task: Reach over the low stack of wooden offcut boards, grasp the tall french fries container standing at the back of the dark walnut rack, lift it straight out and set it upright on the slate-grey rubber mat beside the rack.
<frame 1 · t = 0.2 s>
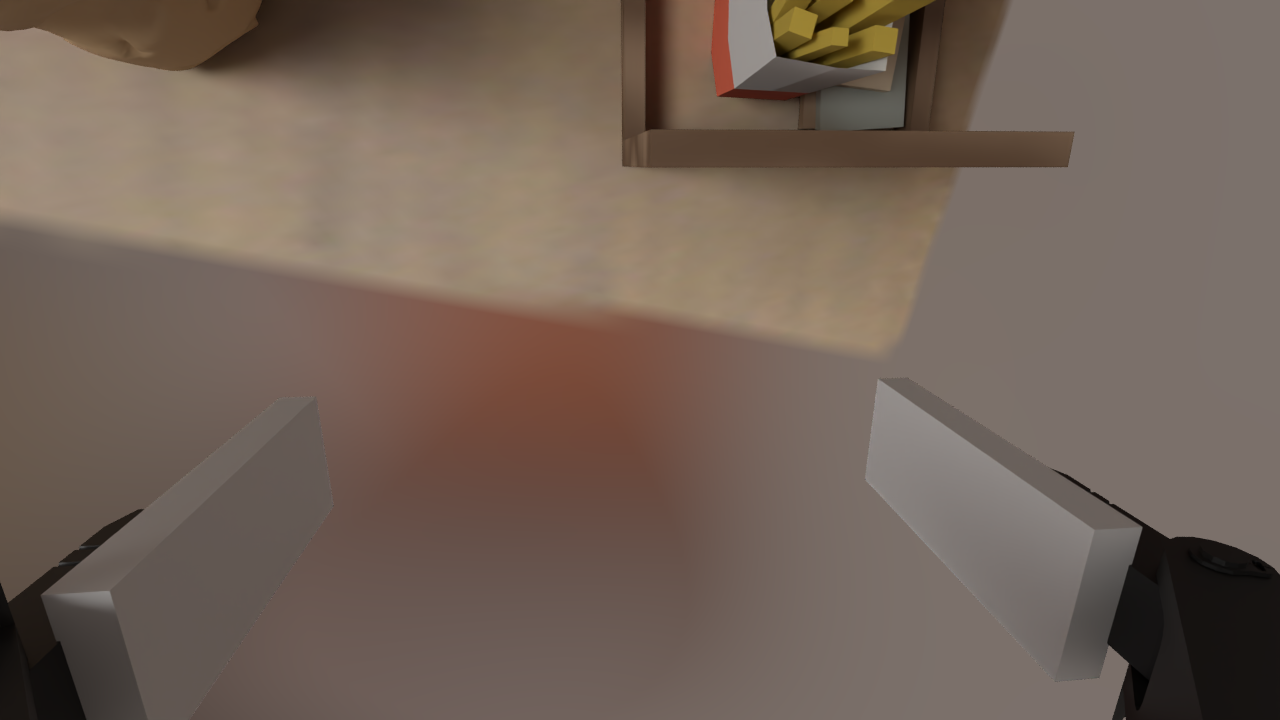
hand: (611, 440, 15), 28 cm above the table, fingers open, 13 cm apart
french fries container: (744, 5, 38), resting in offcut rack
offcut rack: (777, 5, 38), on the table
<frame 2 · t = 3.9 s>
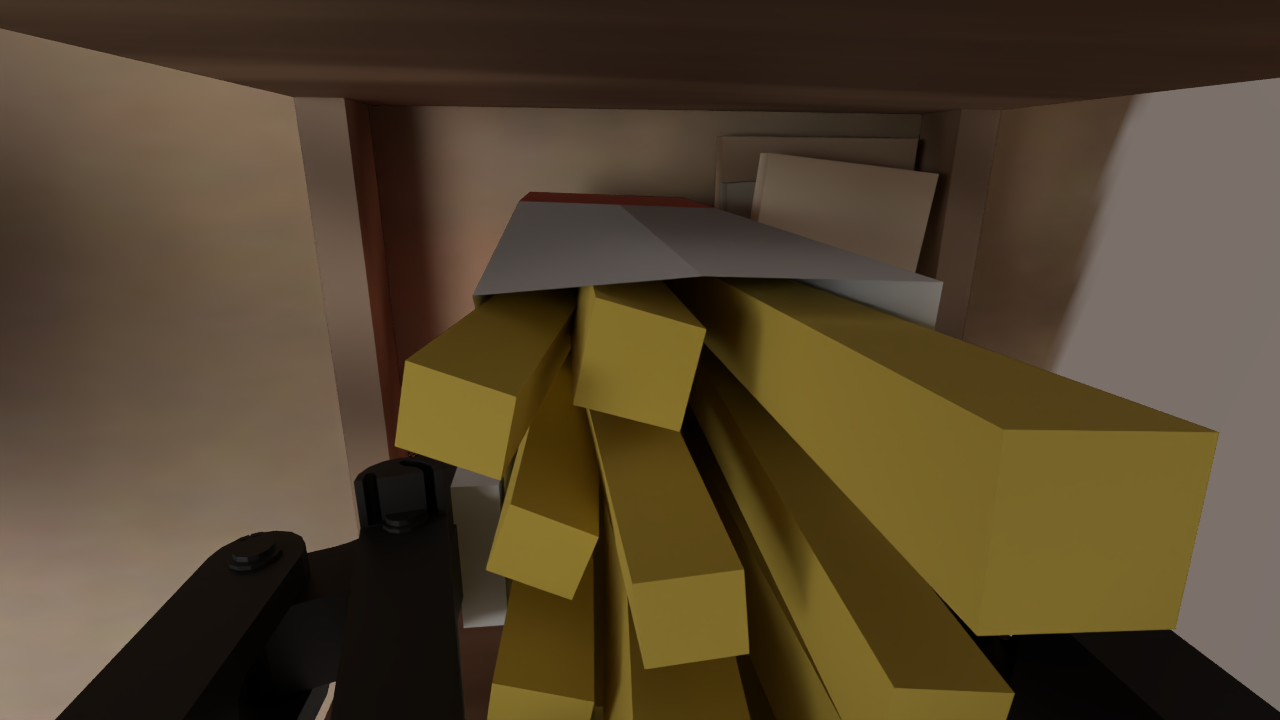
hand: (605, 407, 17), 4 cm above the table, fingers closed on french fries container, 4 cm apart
french fries container: (593, 358, 21), resting in offcut rack, touching gripper
offcut rack: (655, 358, 21), on the table
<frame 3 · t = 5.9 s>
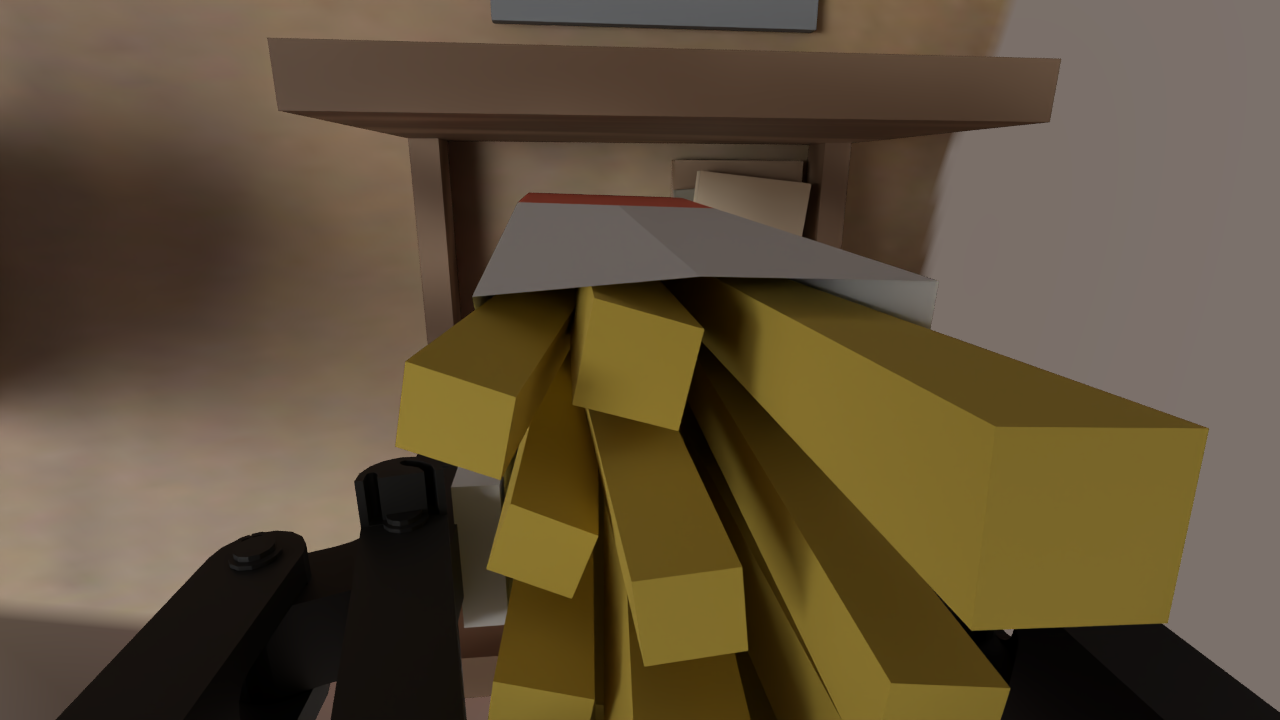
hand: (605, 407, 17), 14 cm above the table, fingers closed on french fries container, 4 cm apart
french fries container: (593, 358, 21), point 10 cm above the table, touching gripper
offcut rack: (633, 309, 31), on the table
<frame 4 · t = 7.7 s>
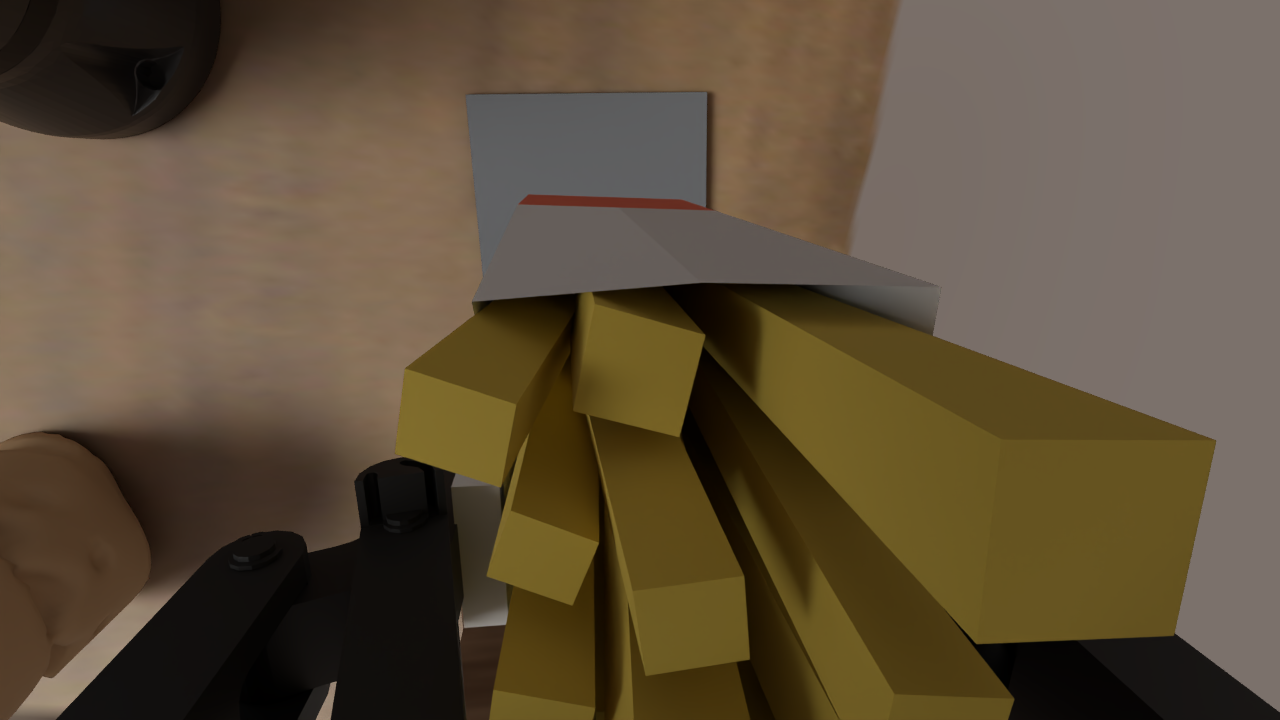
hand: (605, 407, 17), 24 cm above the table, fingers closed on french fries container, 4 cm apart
container: (75, 516, 41), on the table
slate mat: (593, 223, 39), on the table
french fries container: (592, 360, 21), point 20 cm above the table, touching gripper
offcut rack: (591, 508, 45), on the table
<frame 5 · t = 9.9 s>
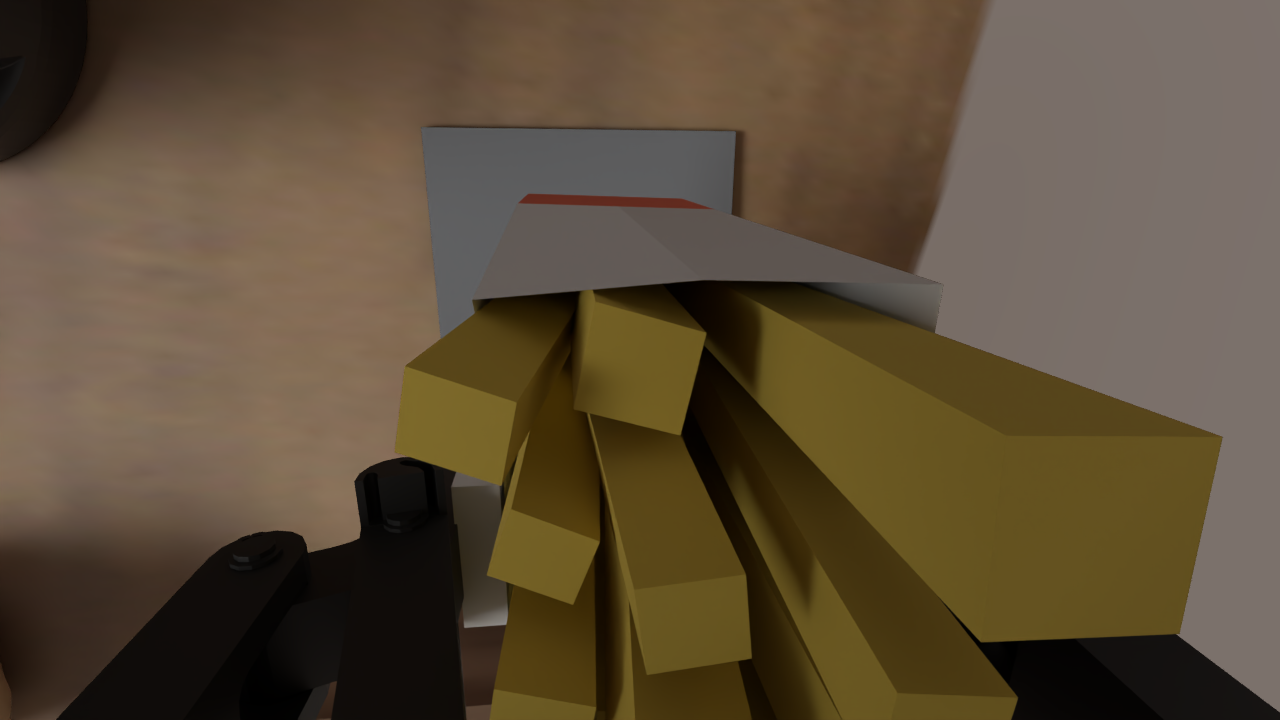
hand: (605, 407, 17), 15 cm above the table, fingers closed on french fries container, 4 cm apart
slate mat: (585, 292, 31), on the table
french fries container: (592, 359, 21), point 11 cm above the table, touching gripper
offcut rack: (575, 627, 37), on the table
when the fingers open (6 cm above the table, at t = 11.8 s): french fries container drops 1 cm, resting on slate mat.
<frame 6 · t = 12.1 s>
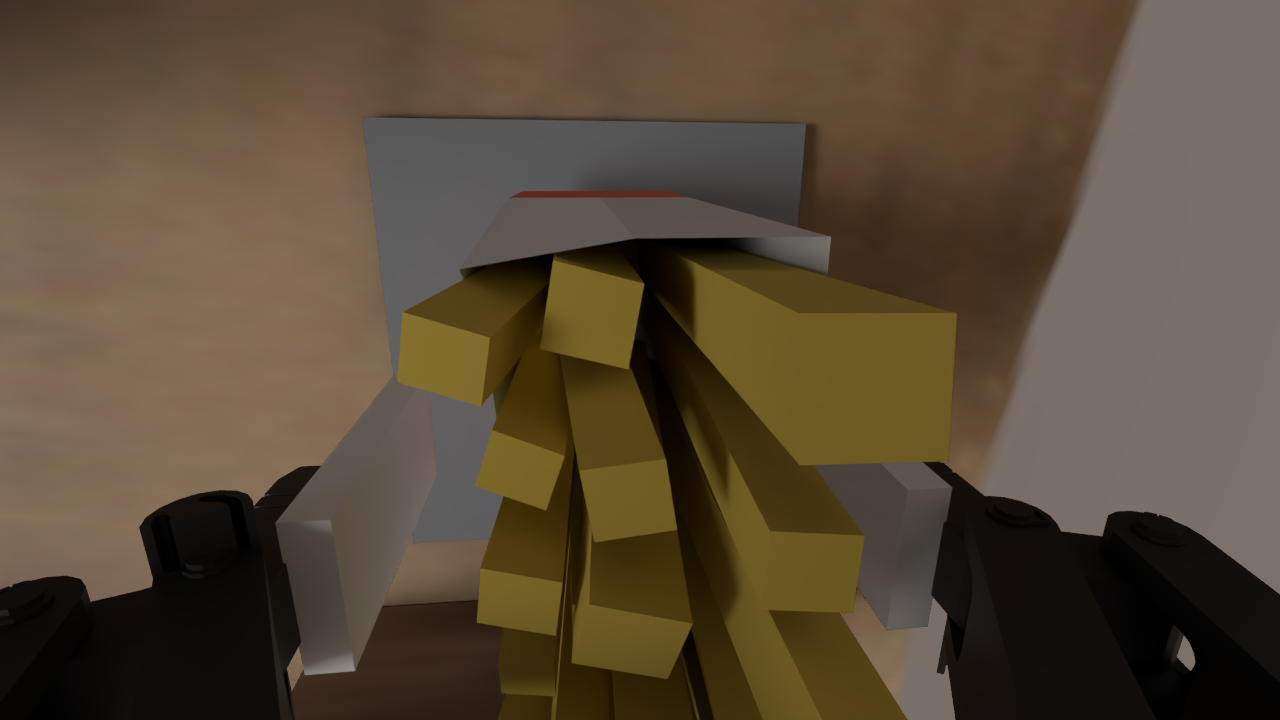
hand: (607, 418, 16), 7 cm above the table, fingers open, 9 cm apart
slate mat: (595, 343, 23), on the table
french fries container: (590, 346, 22), resting on slate mat
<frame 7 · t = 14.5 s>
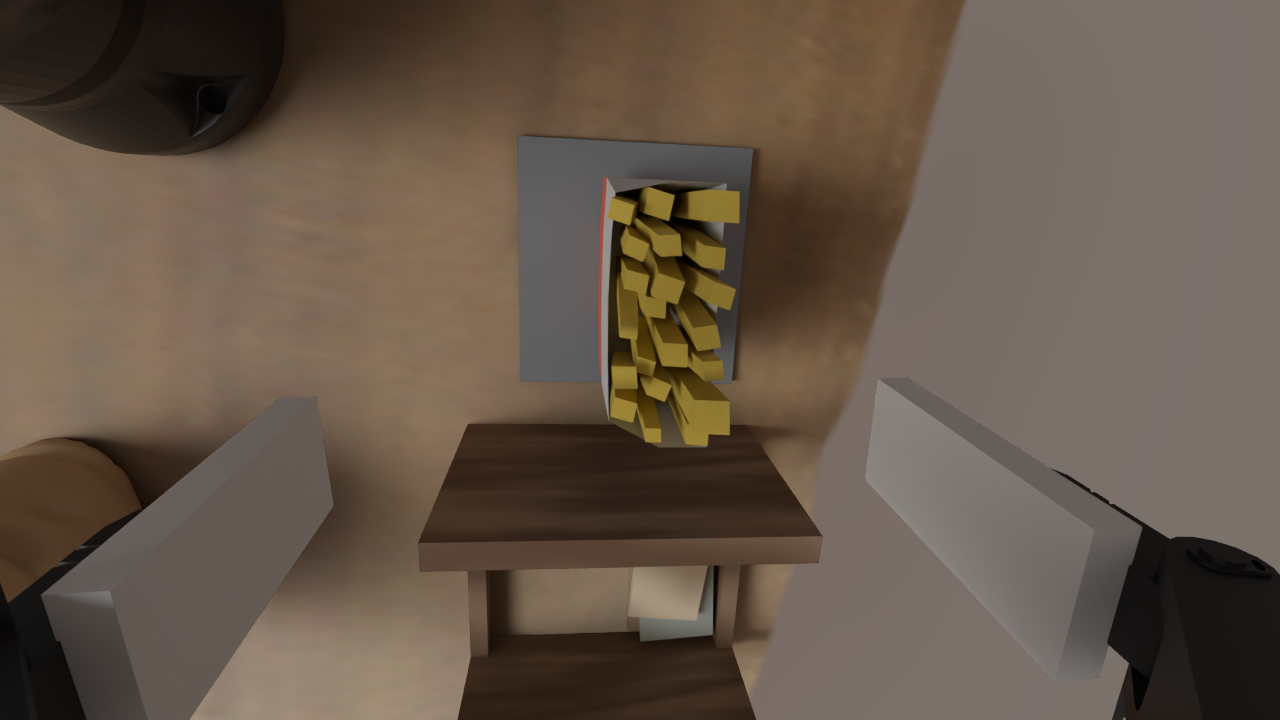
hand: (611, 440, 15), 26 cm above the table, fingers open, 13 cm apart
container: (90, 523, 41), on the table
slate mat: (631, 267, 40), on the table
french fries container: (629, 268, 39), resting on slate mat
offcut rack: (606, 543, 45), on the table
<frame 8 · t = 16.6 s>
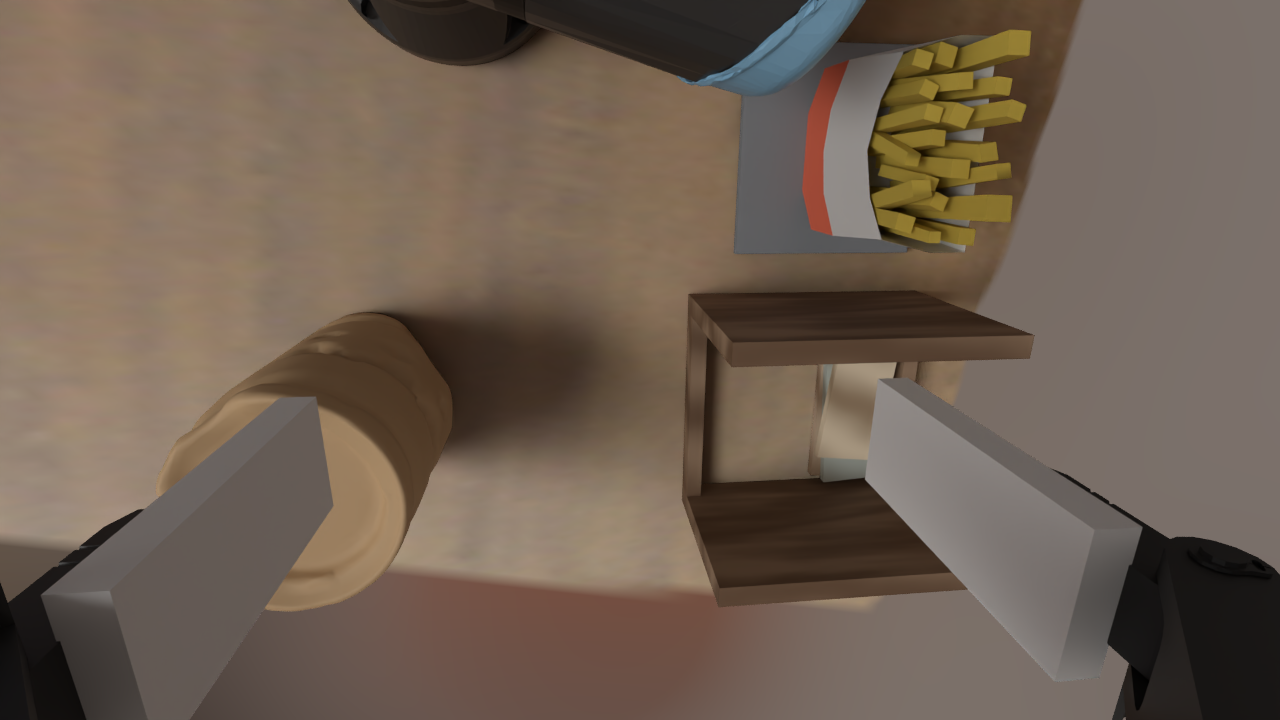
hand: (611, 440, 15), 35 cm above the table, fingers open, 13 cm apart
container: (380, 388, 49), on the table
slate mat: (828, 152, 48), on the table
french fries container: (828, 152, 47), resting on slate mat
offcut rack: (794, 398, 54), on the table
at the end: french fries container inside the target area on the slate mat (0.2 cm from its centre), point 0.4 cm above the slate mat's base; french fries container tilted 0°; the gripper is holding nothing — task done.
